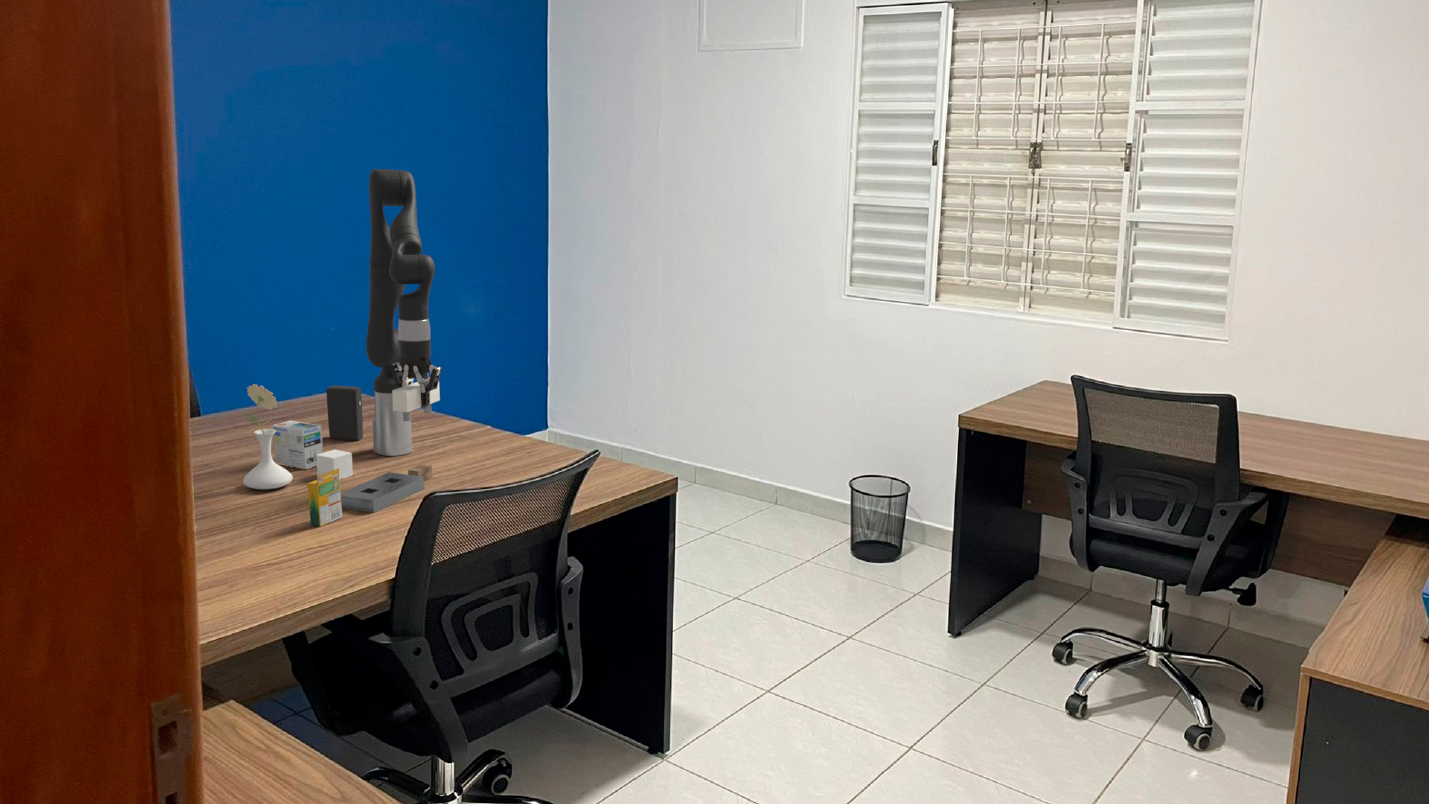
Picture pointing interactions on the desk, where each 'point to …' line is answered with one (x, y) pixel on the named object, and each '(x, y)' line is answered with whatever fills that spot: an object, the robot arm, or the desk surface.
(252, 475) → the flower in vase
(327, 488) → the crayon box
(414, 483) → the mounting plate
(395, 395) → the white plug-in block
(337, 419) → the black upright block
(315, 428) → the light bulb box
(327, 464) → the white cube
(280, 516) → the desk surface
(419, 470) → the walnut stand
